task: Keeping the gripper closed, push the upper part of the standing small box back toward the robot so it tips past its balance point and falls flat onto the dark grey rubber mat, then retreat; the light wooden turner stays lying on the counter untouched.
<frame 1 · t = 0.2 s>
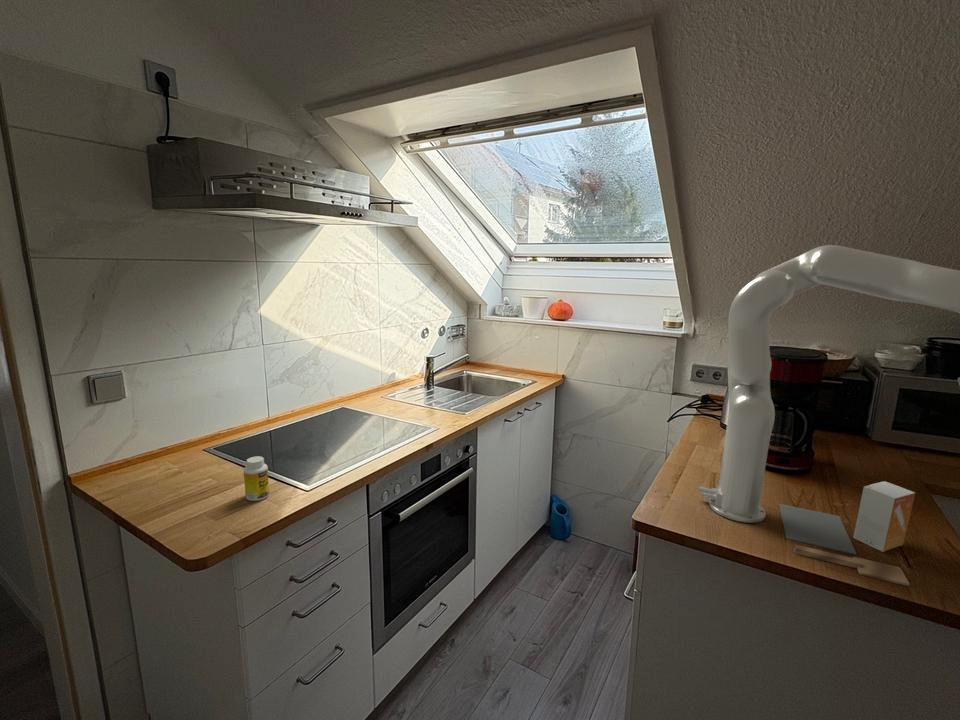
light wooden turner: (838, 561, 103), on the worktop
mat: (813, 527, 116), on the worktop
small box: (877, 542, 111), on the worktop
supplement bottle: (257, 497, 124), on the worktop
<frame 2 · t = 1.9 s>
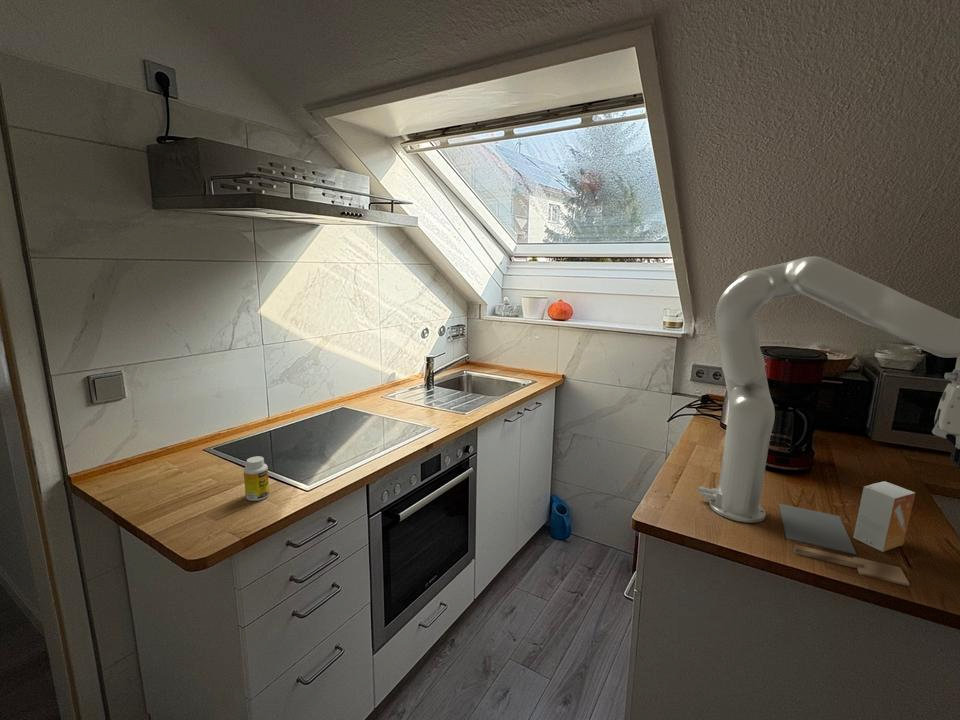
nothing on the worktop moved.
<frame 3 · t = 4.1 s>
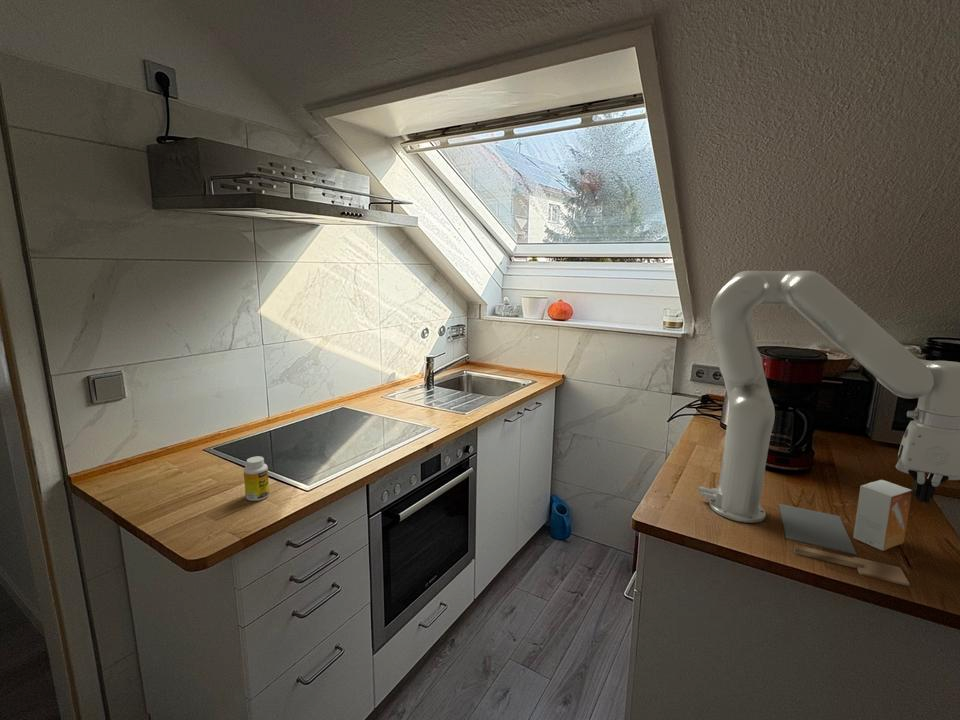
hand: (921, 499, 106), 12 cm above the worktop, fingers closed
small box: (878, 541, 111), on the worktop, touching gripper
everything else where it was.
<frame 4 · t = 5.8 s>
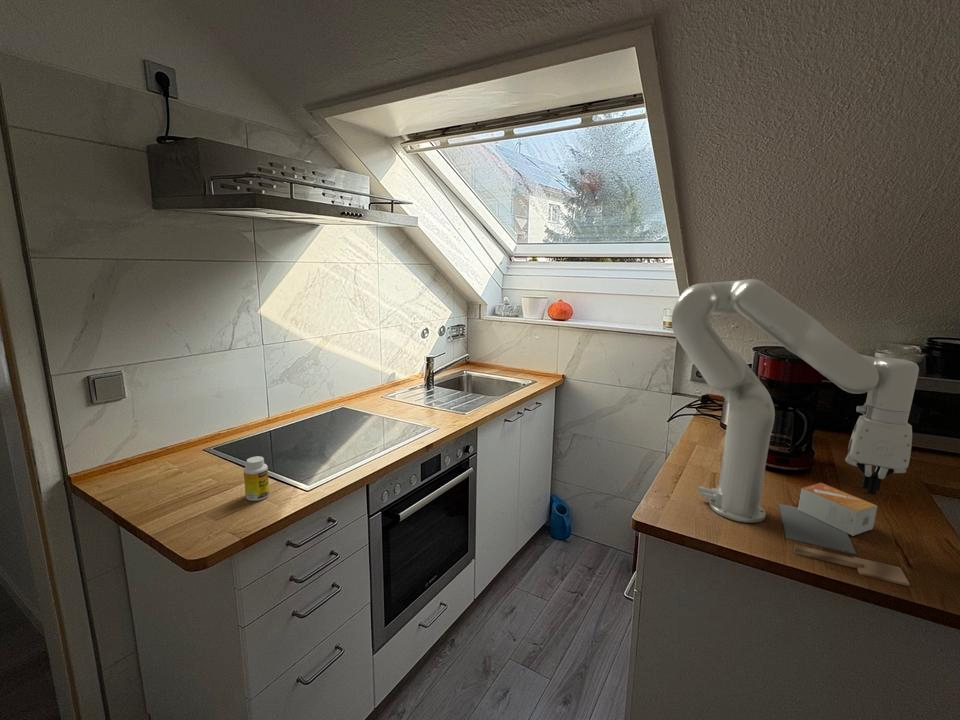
hand: (869, 491, 110), 11 cm above the worktop, fingers closed
small box: (866, 521, 113), point 3 cm above the worktop, touching mat
everything else where it was.
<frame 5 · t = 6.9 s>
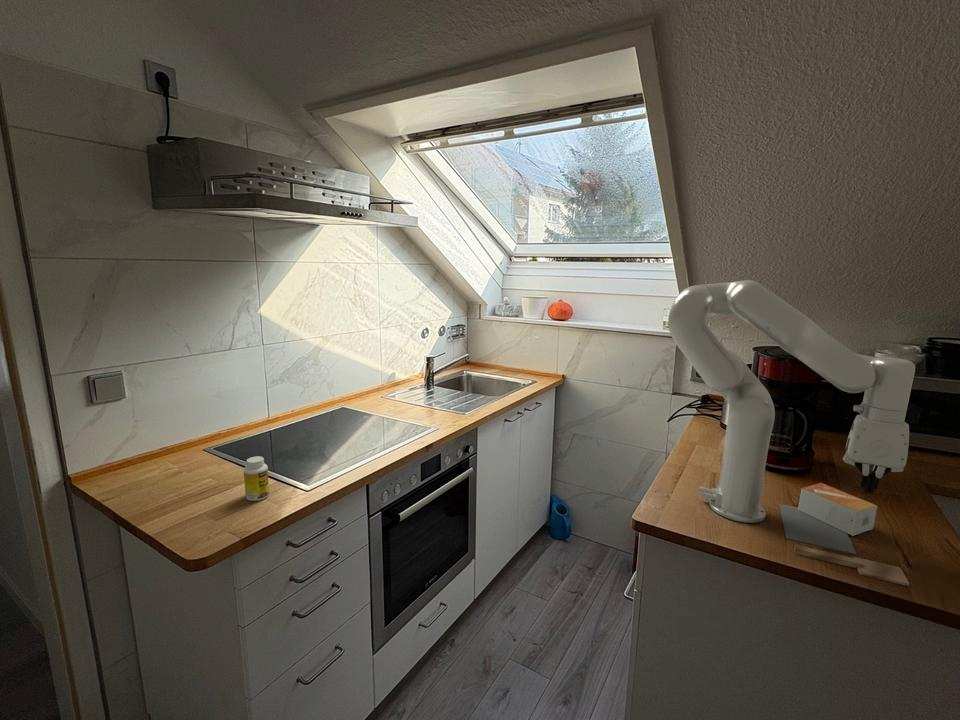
hand: (866, 490, 110), 12 cm above the worktop, fingers closed
nothing on the worktop moved.
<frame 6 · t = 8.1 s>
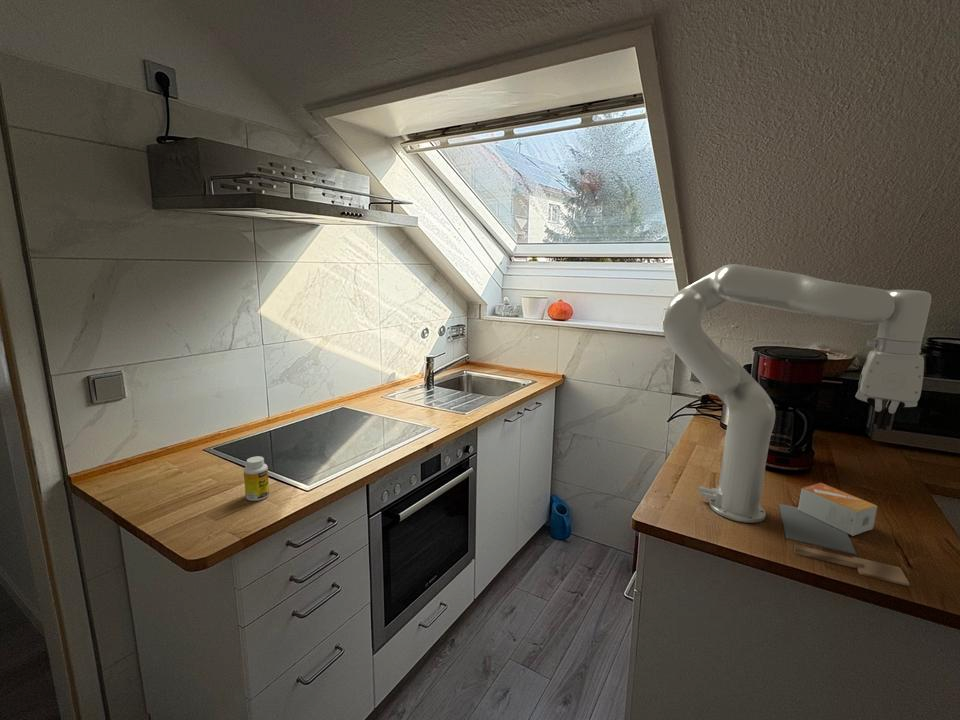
hand: (879, 427, 109), 26 cm above the worktop, fingers closed
nothing on the worktop moved.
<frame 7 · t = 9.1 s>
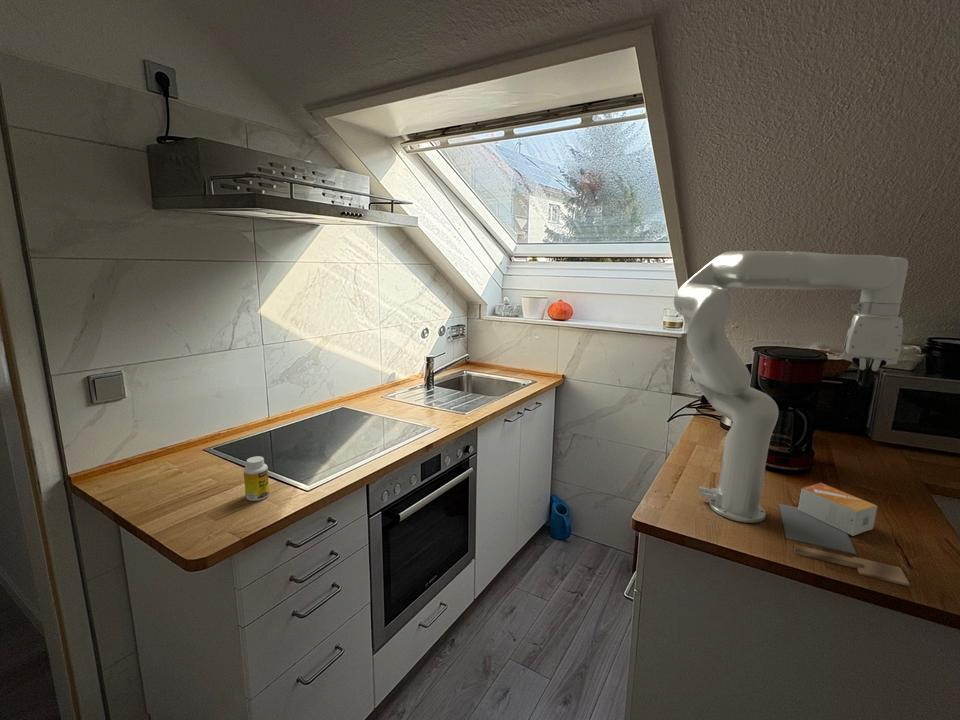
hand: (863, 385, 119), 33 cm above the worktop, fingers closed
nothing on the worktop moved.
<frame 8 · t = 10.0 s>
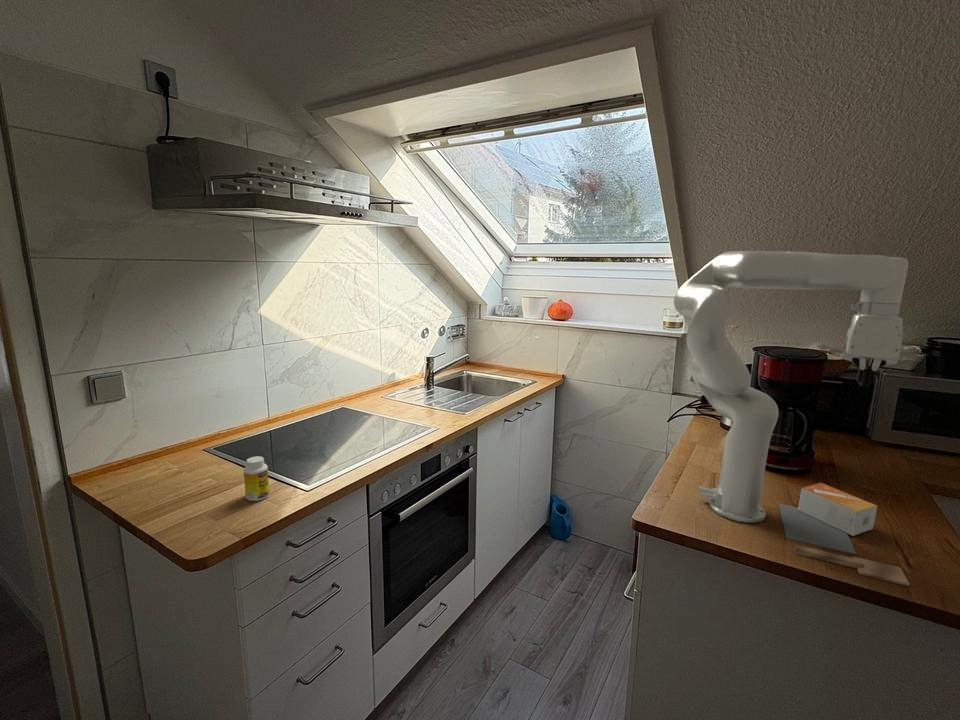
hand: (863, 385, 119), 33 cm above the worktop, fingers closed
nothing on the worktop moved.
at the end: small box tilted 90°; small box 10.3 cm from the mat (horizontally) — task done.
